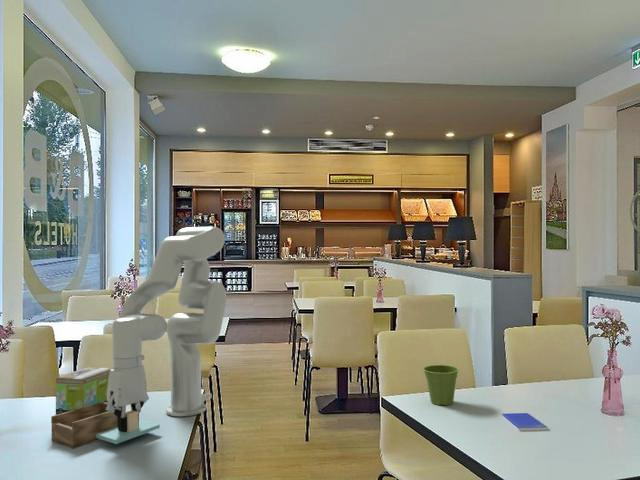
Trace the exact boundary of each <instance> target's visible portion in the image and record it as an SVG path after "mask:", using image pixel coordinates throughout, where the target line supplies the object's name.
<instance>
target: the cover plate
mask: <svg viewBox="0 0 640 480" xmlns="http://www.w3.org/2000/svg"><path fill="white" fill-rule="evenodd" d="M125 417H127V432H122V431H119V430H118V427H116V428H113V429H110V430H107V431H104V432H101V433H98V434H96V438H98V439H100V440H103V441H104V442H109V443H111V444H114V445H118V444H120V443H123V442H126V441H129V440H131V439H133V438H137V437H139V436H143V435H145V434H147V433H151V432H152V431H156V430H158V429H160V426H161V425H160V424H159V423H155V422H151V421H147V420H144V419H140V418H139V427H138V412H137V411H133V410H131V409H130V408H126V412H125Z"/></svg>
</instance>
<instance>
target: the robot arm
mask: <svg viewBox="0 0 640 480" xmlns="http://www.w3.org/2000/svg"><path fill="white" fill-rule="evenodd" d="M225 237H226V236H225V234H224V231H223V230H222V229H221V228H219V227H217V226H191V227H184V228H181V229H179V230H178V231H177V232H176V234H175V235H174V236H167V237H166V238H163V240H161V243H160V244H159V247H158V250H157V251H156V252H157V253H156V256H155V258H154V260H153V263H152V266H151V269H150V272H149V274H148V276H147V278H146V279H145V280H144V281H143V282H142V283H140V284H139V285H138V287H136V288H135V289H134V290H133V291H132V292H131V293H130V294H129V296H128V297H127V298H126V300H125V301H124V304H123V305H122V308H121V311H120V313H119V317H118V318H116V319H114V321H113V322H112V368H113V369H111V370H110V374H109V379H108V387H107V404H108V405H107V407H106V411H108V412H112V413H113V414H115V416H116V417H118V430H119V431H122V432H127V417H125V412H126V410H127V406H130V410H133V411H137V412H138V427H139V419H140V413H141V411H142V408H143V406H144V405H145V403H147V401H149V400H150V396H149V395H148V392H147V391H148V390H147V378H146V377H147V375H146V372H145V368H144V367H145V366H144V365H143V361H144V360H145V356H144V354H143V353H142V352H143V351H142V349H143V348H142V346H143V345H142V343H143V342H149V341H156V340H159V339H161V338H162V337H164V335H166V334H165V333H167V335H166V336H167V337H168V338H167V339H168V342H169V351H170V353H169V354H170V405H169V406H168V407H166V408H165V409H166V410H165V411H166V412H165V413H166V414H167V415H168V416H172V417H180V418H181V417H189V416H190V417H191V416H196V415H199V414H202V413H205V412H206V410H207V405H206V403H205V401H207V400H211V399H212V398H213V397H212V396H213V395H212V393H211V392H207V393H202V357H201V356H202V355H201V351H200V349H199V346H198V345H197V344H203V345H208V344H213V343H215V342H216V341H217V340H218V339H219V336H220V335H221V330H222V325H223V320H224V315H225V309H226V303H227V291H226V288H225V286H224V285H223V284H222V282H219V281H216V280H210V273H211V267H210V264H209V261H208V259H209V258H211V257H212V256H214V255H216V254H218V253H219V252H220V251H221V250H222V249H223V248H224V244H225V240H226V238H225ZM183 265H184V268H183ZM182 268H183V274H182V278H181V283H180V286H179V287H180V288H179V293H178V303H179V306H180V307H182V308H183V309H187V310H195V311H203V313H201V312H200V313H199V312H179V313H174V314H173V315H171V316H170V318H169V319H168V320H167V321H166V319H165V318H164V317H163V316H162V315H160V314H157V313H156V314H155V313H143V310H144V308H146V306H147V305H148V304H149V303H150V302H153V300H155V299H157V298H158V297H160V296H163V295H165V294H168V293H169V292H171V291H172V290H174V289H175V288H176V286H177V283H178V279H179V278H180V274H181V271H182ZM114 405H116V409H115V408H114Z"/></svg>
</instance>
